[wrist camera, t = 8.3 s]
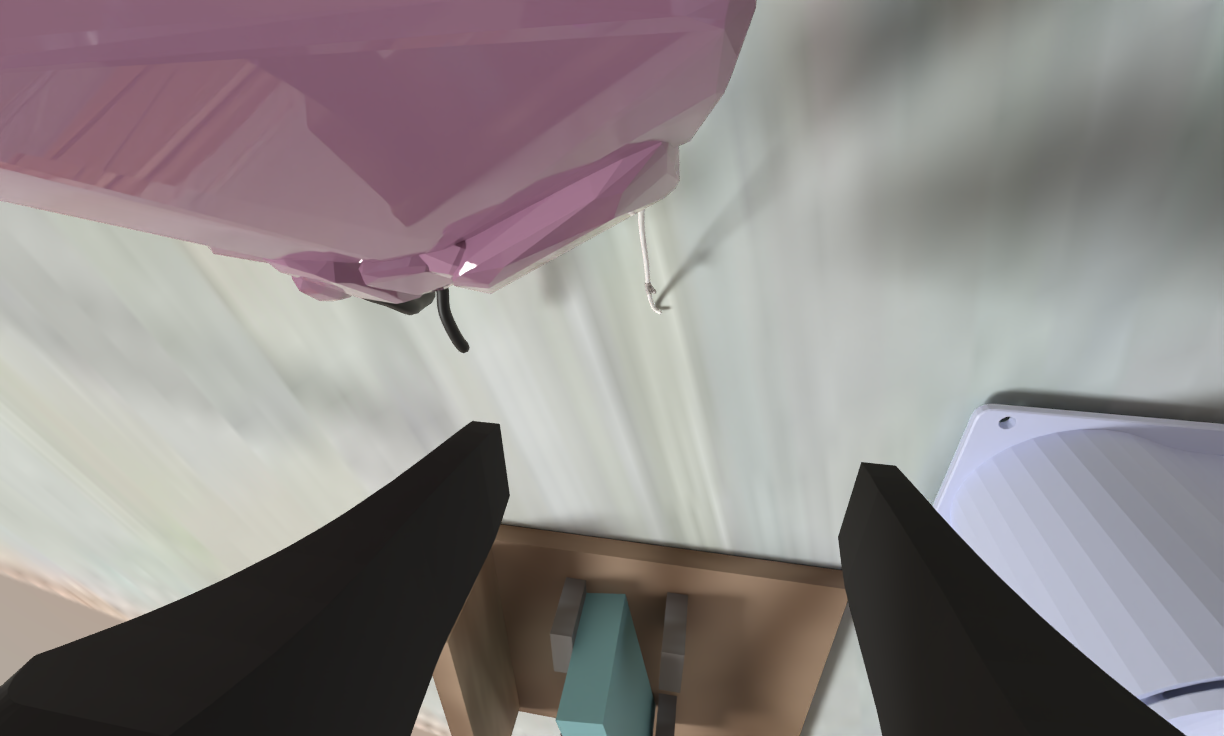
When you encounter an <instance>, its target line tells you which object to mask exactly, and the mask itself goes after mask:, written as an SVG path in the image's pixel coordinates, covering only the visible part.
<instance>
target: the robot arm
mask: <svg viewBox="0 0 1224 736" xmlns="http://www.w3.org/2000/svg"><path fill="white" fill-rule="evenodd" d="M1005 417H1010V418H1009V419H1008V420H1007V421H1005V422H999V421H1000V420H1001V419H1003V418H1005ZM509 496H510V494H509V487H508V480H507V473H506V465H505V458H504V451H503V444H502V437H501V430H500V424H495V423H486V422H476V421H472V422H470V423H469V424H467V425H466V426H465V427H463V428H462V429H461V430H459V431H458V432H457V433H455V434H454V435H453V436H451V437H450V438H449V439H447V440H446V441H445V442H444V443H442V444H441V445H440V446H438V447H437V448H436V449H434V450H433V451H432V452H431V453H429V454H428V455H427V456H425V457H424V458H423V459H421V460H420V461H419V462H417V463H416V464H415V465H413V466H412V467H410V468H409V469H408V470H406V471H405V472H404V473H402V474H401V475H400V476H398V477H397V478H396V479H394V480H393V481H391V482H390V483H389V484H387V485H386V486H384V487H383V488H381V489H380V490H378V491H377V492H375V493H374V494H372V495H371V496H369V497H368V498H367V499H365V500H364V501H362V502H361V503H359V504H358V505H356V506H355V507H353V508H352V509H350V510H349V511H347V512H346V513H344V514H343V515H341V516H340V517H338V518H336V519H335V520H333V521H331V522H330V523H328V524H327V525H325V526H323V527H322V528H320V529H318V530H316V531H315V532H313V533H311V534H310V535H308V536H306V537H304V538H303V539H301V540H299V541H297V542H296V543H294V544H292V545H290V546H288V547H287V548H285V549H283V550H281V551H279V552H277V553H275V554H273V555H271V556H269V557H267V558H265V559H263V560H261V561H259V562H257V563H255V564H254V565H252V566H250V567H248V568H246V569H244V570H242V571H240V572H238V573H236V574H234V575H232V576H230V577H228V578H226V579H224V580H222V581H219V582H217V583H215V584H213V585H211V586H209V587H206V588H204V589H202V590H200V591H198V592H195V593H193V594H191V595H189V596H187V597H184V598H182V599H180V600H177V601H175V602H173V603H170V604H168V605H165V606H163V607H161V608H158V609H156V610H154V611H151V612H149V613H146V614H144V615H142V616H139V617H137V618H134V619H132V620H129V621H127V622H124V623H121V624H119V625H116V626H113V627H111V628H108V629H105V630H103V631H100V632H98V633H95V634H92V635H89V636H87V637H84V638H81V639H79V640H76V641H74V642H71V643H68V644H65V645H63V646H60V647H57V648H55V649H52V650H49V651H46V652H43V653H41V654H38V655H36V656H34V657H33V658H32V659H30V660H29V661H28V662H27V663H26V664H25V665H24V666H23V667H22V668H21V669H19V671H17V672H16V673H15V674H14V675H13V676H12V677H11V678H10V679H8V680H7V681H6V682H5V683H4V684H3V685H2V686H0V736H411V733H412V730H413V727H414V724H415V721H416V719H417V716H418V713H419V710H420V707H421V705H422V702H423V699H424V697H425V694H426V691H427V689H428V686H429V683H430V680H431V678H432V675H433V672H434V670H435V667H436V664H437V662H438V659H439V657H440V655H441V652H442V650H443V648H444V645H445V643H446V641H447V639H448V636H449V634H450V632H451V630H452V628H453V626H454V624H455V622H456V620H457V618H458V616H459V614H460V612H461V610H462V607H463V605H464V603H465V601H466V599H467V597H468V595H469V593H470V591H471V589H472V587H473V585H474V583H475V581H476V579H477V577H478V575H479V572H480V570H481V568H482V566H483V564H484V562H485V560H486V558H487V556H488V554H489V552H490V549H491V547H492V545H493V543H494V541H495V538H496V536H497V533H498V530H499V527H500V524H501V521H502V518H503V515H504V512H505V509H506V506H507V503H508V500H509ZM838 540H839V548H840V557H841V565H842V572H843V579H844V586H845V591H846V595H847V599H848V603H849V607H850V610H851V614H852V618H853V622H854V626H855V630H856V634H857V637H858V641H859V645H860V649H861V652H862V656H863V660H864V664H865V667H866V671H867V675H868V679H869V682H870V686H871V690H872V694H873V698H874V701H875V705H876V709H877V713H878V718H879V722H880V727H881V731H882V736H1224V424H1218V423H1207V422H1195V421H1184V420H1173V419H1161V418H1150V417H1138V416H1127V415H1116V414H1104V413H1093V412H1081V411H1070V410H1059V409H1047V408H1036V407H1024V406H1013V405H1002V404H985V405H982V406H979V407H978V408H976V409H975V410H974V411H973V413H972V414H971V417H970V419H969V421H968V424H967V426H966V428H965V431H964V433H963V435H962V438H961V440H960V442H959V445H958V447H957V449H956V452H955V454H954V456H953V459H952V461H951V464H950V466H949V468H948V471H947V473H946V475H945V478H944V480H943V482H942V485H941V487H940V489H939V492H938V494H937V496H936V499H935V501H934V503H933V506H932V505H931V504H930V503H929V502H928V501H927V500H926V499H925V497H924V496H923V495H922V494H921V493H920V492H919V491H918V490H917V488H916V487H915V486H914V485H913V484H912V483H911V482H910V481H909V480H908V478H907V477H906V476H905V475H904V474H903V473H902V472H901V471H900V470H899V469H898V468H897V467H896V466H893V465H883V464H874V463H864V462H861V465H860V468H859V472H858V475H857V478H856V481H855V485H854V488H853V491H852V494H851V497H850V501H849V504H848V507H847V510H846V513H845V517H844V520H843V523H842V526H841V529H840V533H839V536H838Z"/></svg>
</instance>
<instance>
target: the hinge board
mask: <svg viewBox="0 0 1224 736" xmlns="http://www.w3.org/2000/svg"><path fill="white" fill-rule="evenodd" d="M586 593H608V594H625V595H626V598H627V602H628V606H629V609H630V613H631V617H632V620H633V624H634V628H635V631H636V635H637V639H638V642H639V646H640V650H641V653H642V657H643V661H644V665H645V668H646V672H647V676H648V679H649V683H650V687H651V690H652V694H653V698H654V701H655V705H656V708H655V718H654V728H653V736H800V733H801V730H802V727H803V724H804V722H805V719H806V716H807V713H808V710H809V708H810V705H811V702H812V699H813V696H814V694H815V691H816V688H817V685H818V682H819V680H820V677H821V674H822V671H823V668H824V666H825V663H826V660H827V657H828V654H829V652H830V649H831V646H832V643H833V640H834V638H835V635H836V632H837V629H838V626H839V624H840V621H841V618H842V615H843V612H844V610H845V607H846V604H847V601H848V599H847V595H846V591H845V586H844V579H843V572H842V570H835V569H828V568H820V567H813V566H806V565H798V564H791V563H783V562H776V561H769V560H761V559H754V558H746V557H739V556H731V555H724V554H717V553H709V552H702V551H694V550H687V549H680V548H672V547H665V546H657V545H650V544H643V543H635V542H628V541H620V540H613V539H606V538H598V537H591V536H583V535H576V534H569V533H561V532H554V531H546V530H539V529H532V528H524V527H517V526H509V525H502V524H500V527H499V530H498V533H497V536H496V538H495V541H494V543H493V545H492V547H491V549H490V552H489V554H488V556H487V558H486V560H485V562H484V564H483V566H482V568H481V570H480V572H479V575H478V577H477V579H476V581H475V583H474V585H473V587H472V589H471V591H470V593H469V595H468V597H467V599H466V601H465V603H464V605H463V607H462V610H461V612H460V614H459V616H458V618H457V620H456V622H455V624H454V626H453V628H452V630H451V632H450V634H449V636H448V639H447V641H446V643H445V645H444V648H443V650H442V652H441V655H440V657H439V659H438V662H437V664H436V667H435V670H434V672H433V678H434V682H435V685H436V688H437V691H438V694H439V697H440V700H441V704H442V707H443V710H444V713H445V716H446V719H447V722H448V726H449V729H450V732H451V735H452V736H511V735H512V731H513V728H514V725H515V721H516V718H517V715H518V711H522V712H527V713H532V714H537V715H543V716H548V717H553V718H556V716H557V712H558V708H559V704H560V700H561V696H562V692H563V688H564V683H565V679H566V675H567V671H568V667H569V663H570V659H571V655H572V651H573V647H574V642H575V638H576V634H577V630H578V626H579V622H580V618H581V614H582V610H583V605H584V601H585V597H586ZM561 736H562V734H561Z"/></svg>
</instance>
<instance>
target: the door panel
mask: <svg viewBox="0 0 1224 736" xmlns="http://www.w3.org/2000/svg"><path fill="white" fill-rule="evenodd" d="M655 708H656V705H655V701H654V698H653V694H652V690H651V687H650V683H649V679H648V676H647V672H646V668H645V665H644V661H643V657H642V653H641V650H640V646H639V642H638V639H637V635H636V631H635V628H634V624H633V620H632V617H631V613H630V609H629V606H628V602H627V598H626V595H625V594H608V593H586V597H585V601H584V605H583V610H582V614H581V618H580V622H579V626H578V630H577V634H576V638H575V642H574V647H573V651H572V655H571V659H570V663H569V667H568V671H567V675H566V679H565V683H564V688H563V692H562V696H561V700H560V704H559V708H558V712H557V716H556V722H557V725H558V727H559V729H560V731H561V734H562V736H653V728H654V718H655Z"/></svg>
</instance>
